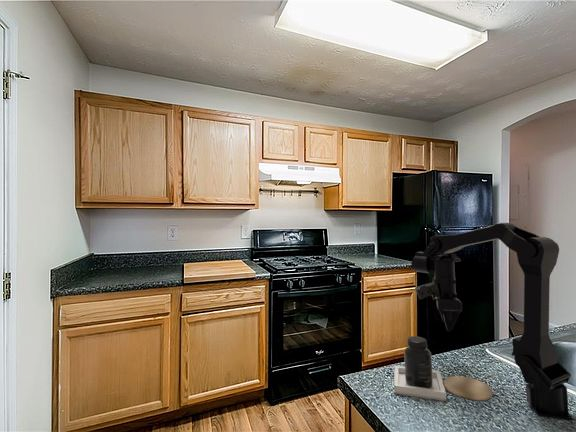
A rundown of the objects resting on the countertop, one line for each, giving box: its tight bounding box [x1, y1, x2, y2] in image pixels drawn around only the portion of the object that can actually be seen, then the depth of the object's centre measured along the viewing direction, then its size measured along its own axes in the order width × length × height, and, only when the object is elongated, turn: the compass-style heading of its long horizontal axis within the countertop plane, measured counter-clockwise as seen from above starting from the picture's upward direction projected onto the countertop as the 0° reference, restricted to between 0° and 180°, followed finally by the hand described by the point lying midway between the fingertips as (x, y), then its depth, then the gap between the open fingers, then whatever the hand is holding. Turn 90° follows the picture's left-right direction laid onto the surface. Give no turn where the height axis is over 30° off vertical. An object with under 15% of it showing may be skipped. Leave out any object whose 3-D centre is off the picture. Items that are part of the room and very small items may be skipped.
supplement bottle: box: [403, 335, 433, 389], centre depth 82 cm, size 7×7×12 cm
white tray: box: [393, 365, 447, 402], centre depth 82 cm, size 12×12×2 cm
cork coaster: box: [443, 375, 493, 401], centre depth 80 cm, size 11×11×1 cm
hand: (446, 326), depth 93 cm, fingers open, 9 cm apart
